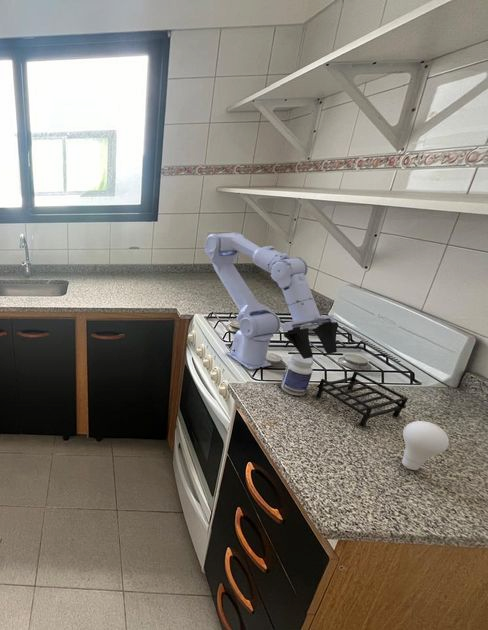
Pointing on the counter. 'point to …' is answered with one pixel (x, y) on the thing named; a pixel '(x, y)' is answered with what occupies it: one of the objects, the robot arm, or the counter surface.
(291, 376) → the pill bottle
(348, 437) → the counter surface
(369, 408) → the wire rack
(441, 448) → the lightbulb
